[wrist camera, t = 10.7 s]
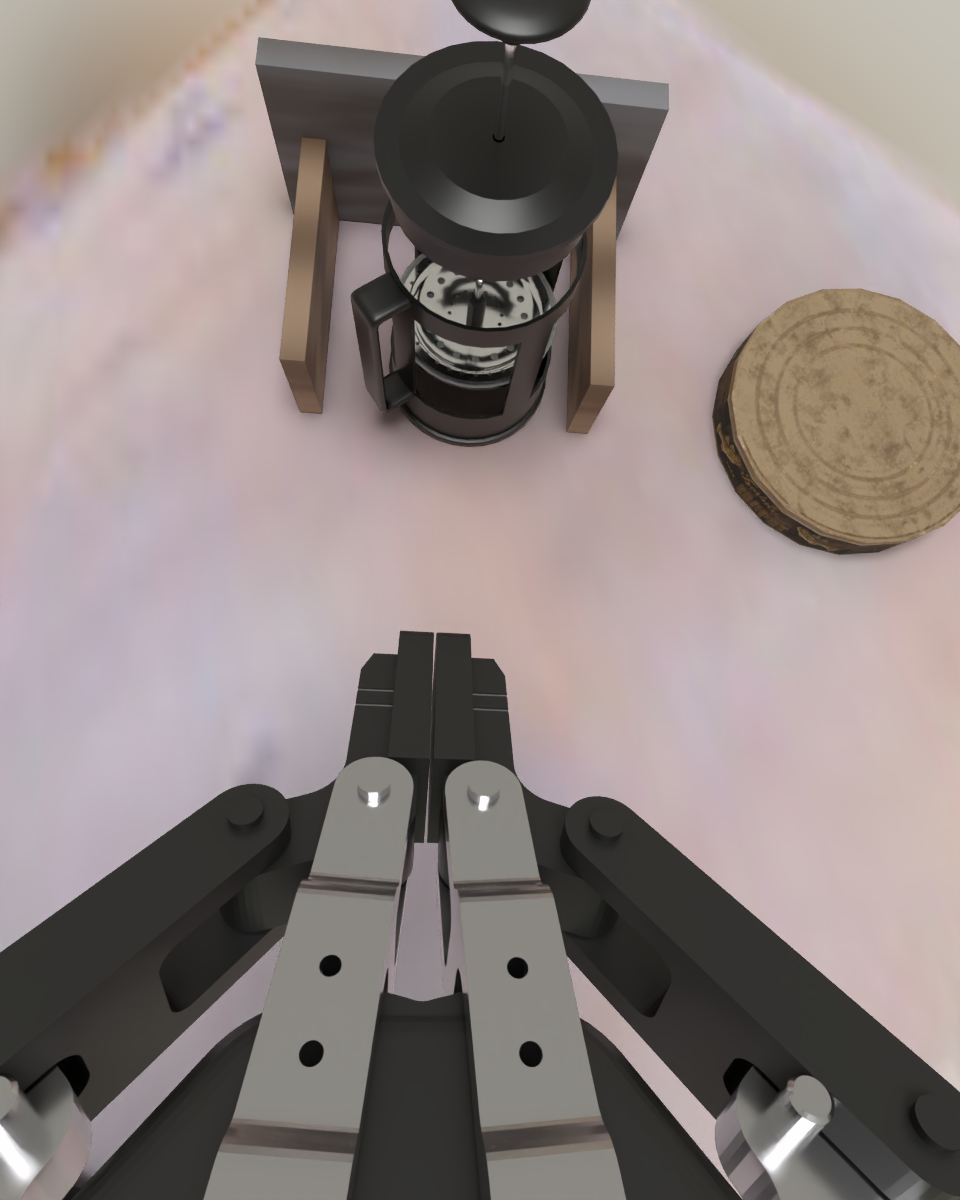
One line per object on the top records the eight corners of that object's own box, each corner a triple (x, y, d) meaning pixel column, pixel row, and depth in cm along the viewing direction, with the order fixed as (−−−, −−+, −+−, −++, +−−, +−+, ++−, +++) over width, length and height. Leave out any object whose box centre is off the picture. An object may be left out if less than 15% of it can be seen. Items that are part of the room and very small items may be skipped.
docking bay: (612, 435, 42) (669, 347, 32) (274, 409, 40) (226, 309, 31) (614, 224, 44) (668, 83, 35) (296, 193, 43) (258, 37, 33)
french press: (498, 271, 43) (581, -224, 21) (584, 391, 42) (769, 12, 20) (334, 362, 41) (228, -73, 19) (421, 490, 40) (419, 196, 18)
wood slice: (661, 386, 43) (678, 362, 40) (856, 276, 46) (887, 245, 43) (808, 604, 41) (838, 595, 38) (1002, 477, 44) (1044, 459, 41)
